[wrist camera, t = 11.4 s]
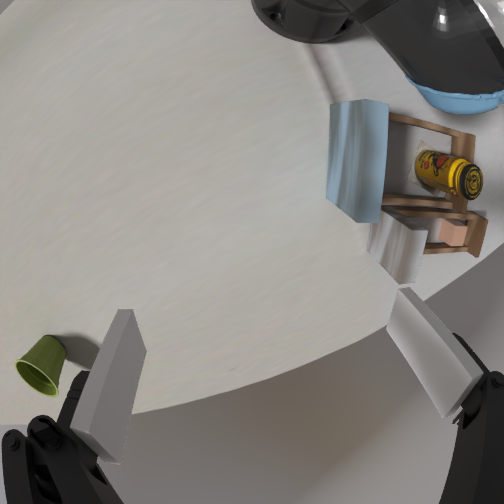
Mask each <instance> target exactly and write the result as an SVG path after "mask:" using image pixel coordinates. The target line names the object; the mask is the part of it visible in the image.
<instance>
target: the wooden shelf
mask: <svg viewBox="0 0 504 504" xmlns="http://www.w3.org/2000/svg"><path fill="white" fill-rule="evenodd" d="M388 120H390V121H395V122H399V123H404V124H409V125H413V126H417V127H421V128H425V129H429V130H433V131H436V132H440V133H443V134H447V135H450V136H452V144H451V156H456V157H459V158H463V159H465V160H466V161H467V162H469V163H471V164H473V162H474V151H475V135H473V134H468V133H462V132H459V131H456V130H453V129H450V128H446V127H443V126H440V125H437V124H433V123H430V122H426V121H422V120H419V119H415V118H411V117H407V116H402V115H398V114H394V113H389V104H387V103H382V102H377V101H372V100H367V99H363V100H356V101H349V102H343V103H337V104H331V105H330V134H329V159H328V177H327V192H326V198H327V199H328V200H329V201H331V202H332V203H333V204H334V205H336V206H337V207H338V208H339V209H341V210H342V211H343V212H344V213H346V214H347V215H348V216H349V217H351V218H352V219H353V220H354V221H355V222H357V223H379V218H380V211H381V204H400V205H418V206H433V207H447V208H453V209H455V210H457V211H459V212H461V213H466V209H467V204H468V200H467V199H466V198H463V197H455V196H453V195H451V194H448V193H446V196H445V199H442V198H432V197H420V196H408V195H394V194H383V187H384V178H385V167H386V155H387V140H388Z"/></svg>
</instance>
